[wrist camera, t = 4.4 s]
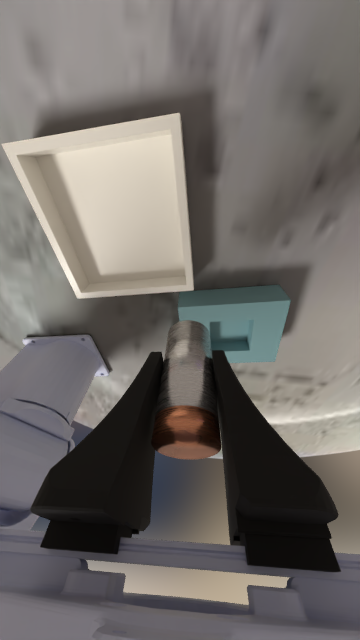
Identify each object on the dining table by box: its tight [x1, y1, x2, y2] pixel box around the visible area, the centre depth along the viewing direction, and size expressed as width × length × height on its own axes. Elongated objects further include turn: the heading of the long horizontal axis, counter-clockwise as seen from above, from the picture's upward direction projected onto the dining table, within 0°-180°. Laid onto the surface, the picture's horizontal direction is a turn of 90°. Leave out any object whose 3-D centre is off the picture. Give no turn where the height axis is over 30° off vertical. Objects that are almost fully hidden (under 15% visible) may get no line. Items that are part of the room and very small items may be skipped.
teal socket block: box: [178, 285, 291, 363], centre depth 21 cm, size 10×8×3 cm
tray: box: [2, 113, 194, 299], centre depth 16 cm, size 11×11×2 cm
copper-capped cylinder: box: [151, 320, 221, 459], centre depth 11 cm, size 3×3×7 cm
